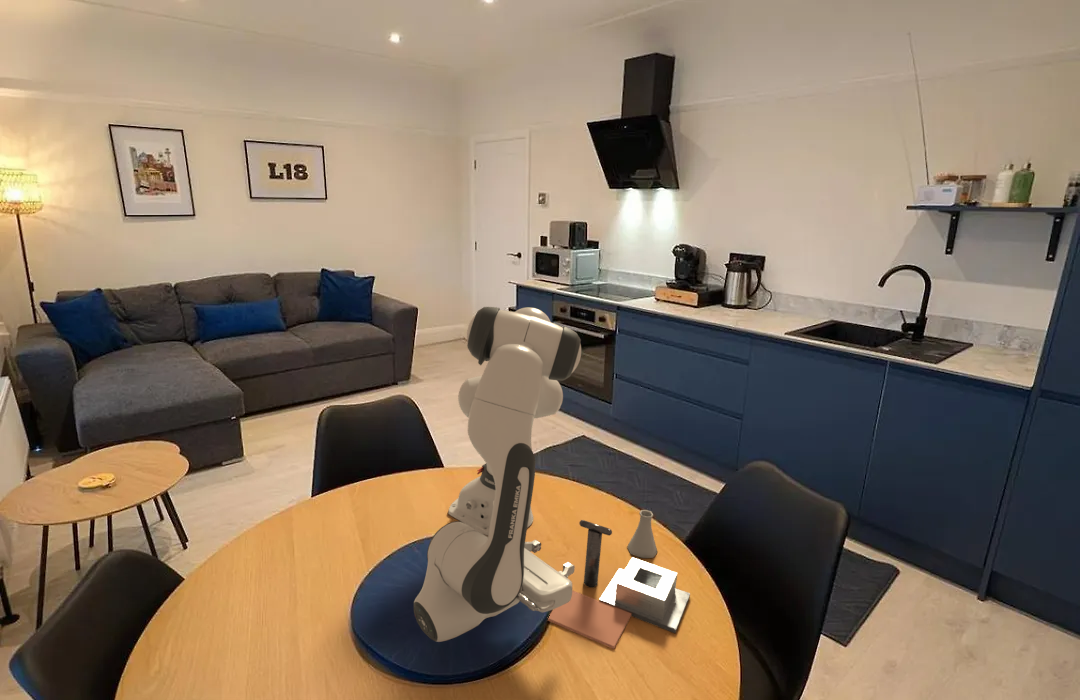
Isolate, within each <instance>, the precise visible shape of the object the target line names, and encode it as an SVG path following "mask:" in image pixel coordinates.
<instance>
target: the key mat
mask: <svg viewBox="0 0 1080 700" xmlns="http://www.w3.org/2000/svg"><path fill="white" fill-rule="evenodd" d="M549 615H550V616H549ZM549 615H548V616H549V618H548V617H547V618H548V620H547V621H548V622H550V623H552V624H555V625H558V626H559V627H561V628H564V629H566V630H568V631H571V632H574V633H575V634H577V635H581V636H583V637H586V638H587V639H590V640H591V641H595V642H596V643H599V644H601V645H603V646H606V647H608V648H610V649H613V650H614V649H615V647H616V646H617V644H618V643H619V640H620V638H621V636H622V635H623V633H624V630H625V629H626V627H627V625H628V623H629V621H630V620H631V617H632V616H631V613H629V612H626V611H624V610H621V609H619V608H616V607H614V606H611V605H609V604H606V603H603V602H601V601H599V600H598V599H595V598H593V597H591V596H588V595H586V594H583V593H581V592H577V591H575V590H573V589H572V597H571V600H570V601H569V602H568V603H566V604H564V605H562V606H560V607H557V608H555V609H553V610H551V612H550V613H549Z"/></svg>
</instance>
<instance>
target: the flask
mask: <svg viewBox="0 0 1080 700" xmlns="http://www.w3.org/2000/svg"><path fill="white" fill-rule="evenodd" d="M653 517H654V514H653V511H651V510H648V509H641V510H640V511H639V522H638V525H637V528H636V529H635V532H634V533H633V536H632V537H631V539H630V541H629V543H628V544H627V550H628V552H629V553H630V555H632V556H635V557H637V558H641V559H654V558H655V556H656V555H657V553H658V547H657V545H656V540H655V538H654V534H653V533H654V532H653V527H652V518H653Z"/></svg>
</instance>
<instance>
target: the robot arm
mask: <svg viewBox="0 0 1080 700" xmlns="http://www.w3.org/2000/svg"><path fill="white" fill-rule="evenodd" d="M466 341H467V345H466V348H467V350H468V352H470V355H471V356H472V357H473V358H475V359H476V360H478V362H477V363H478V365H479V366H482V365H483V364H484V362H487V363H486V367H484V370H483V372H482V375H478V376H473V377H470V378H466V379H465V381H463V383H462V384H461V386H460V388H459V390H458V398H457V399H458V400H457V401H458V405H459V408H460V410H461V412H462V413H463V415H465V417H467V418H468V419H467V420H468V421H467V435H468V439H469V442H471V445H472V447H473V448H474V450H475V451H476V452H477V453H478V455H480V457H481V458H482V459H483V460H484V462H485V463H484V464H483V465H481V467H480V468H478V469H477V471H476V472H477V473H476V474H477V475H479V474H480V475H479V476H478V477H476V478H474V479H472V480H471V481H469V482H468V483H466V485H464V486H463V487H462V488H461V490H460V491H459V495H458V498H456V499H455V500H453V502H452V503H451V504H450V506H449V508H448V515H449V516H451V517H452V518H454V519H456V521H452V522H449V523H448V522H447V524H445V525H443V526H441V528H439V529H438V530H437V531H436V532H435V533H434V535H433V536H432V538H431V539H430V541H429V544H428V548H427V550H426V551H427V552H426V558H427V559H426V560H427V568H426V572H425V577H424V581H423V585H422V588H421V589H420V591H419V593H418V594H417V596H416V597H415V599H414V601H413V614H414V617H415V619H416V623H417V624H418V626H419V627H420V629H421V631H422V632H423V633H424V634H425V635H426V636H427V637H428V638H429V639H430V640H432V641H434V642H436V643H437V642H438V643H440V642H446V641H449V640H451V639H454V638H458V637H459V636H461V635H463V634H465V633H467V632H469V631H471V630H473V629H474V628H476V627H478V626H479V625H480V624H481V623H482V622H483V621H484V620H485V619H487V618H491V617H496V616H498V615H499V614H501V613H503V612H505V611H507V610H509V609H510V608H512V607H514V606H516V605H518V603H522V604H523V605H525V606H526V607H527V608H528V609H529V610H530V611H532V612H535V611H536V612H539V613H546V612H550V611H553V610H554V609H555V608H557V607H560V606H562V605H564V604H566V603H568V602H569V601H570V600H571V597H572V590H573V581H572V580H570V578H569V577H570V576H571V575H573V574H574V573H575V569H576V566H575V564H572V563H571V562H570V561H567V562H565V563H564V564H562V570H556V569H555V568H554V567H552V566H551V565H549V564H548V563H546V562H545V561H544V560H542V559H541V558H540V557H538V556H537V555H535V554H536V553H537V552H540V551H541V549H542V543H541V542H540V541H539V540H537V539H534V540H532V541H526V538H527V531H528V528H529V527H530V526H531V525H532V523H533V521H534V514H533V511H532V499H533V491H534V485H535V476H536V456H535V454H534V452H533V447H532V446H533V445H532V433H533V426H534V425H533V424H534V420H535V419H540V418H545V417H549V416H550V417H551V416H552V415H556V413H558V411H559V410H560V408H561V406H562V404H563V400H564V393H563V389H562V385H561V384H560V382H559V381H565V380H567V379H568V378H570V377H571V375H572V374H573V373H574V372H575V370H576V369H577V367H578V366H579V363H580V362H581V361H580V360H581V358H582V357H581V356H582V345H581V341H582V339H581V338H580V336H579V335H578V333H577V332H575V330H573V329H571V328H570V327H567V326H560V325H558V324H556V323H554V322H551V320H550V318H549V316H548V315H547V314H546V313H545V312H543V311H542V310H541V309H538V308H536V307H522V308H519V309H517V310H516V311H511V310H510V311H509V310H505V309H500V307H497V306H496V307H495V306H483V307H481V308H480V309H479V310H477V311H476V313H475V315H474V316H473V317H472V319H471V320H470V321H469V324H468V327H467V332H466Z"/></svg>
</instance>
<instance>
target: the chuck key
mask: <svg viewBox="0 0 1080 700" xmlns="http://www.w3.org/2000/svg"><path fill="white" fill-rule="evenodd" d="M579 526H580V527H582V528H585V529H587V541H586V550H585V551H586V552H585V554H586V555H585V561H584V562H585V564H584V575H583V576H584V577H583V585H584V586H586V587H587V588H589V589H591V588H593V589H594V588H596V587H597V586H598V583H599V573H600V572H599V571H600V560H601V552H602V551H601V549H602V538H603V537H602V536H603V535H606V536H611V535H612V534H613V531H612V529H611V528H608V527H606V526H603V525H600V524H597V523H593V522H591V521H588V520H584V519H580V521H579Z"/></svg>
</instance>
